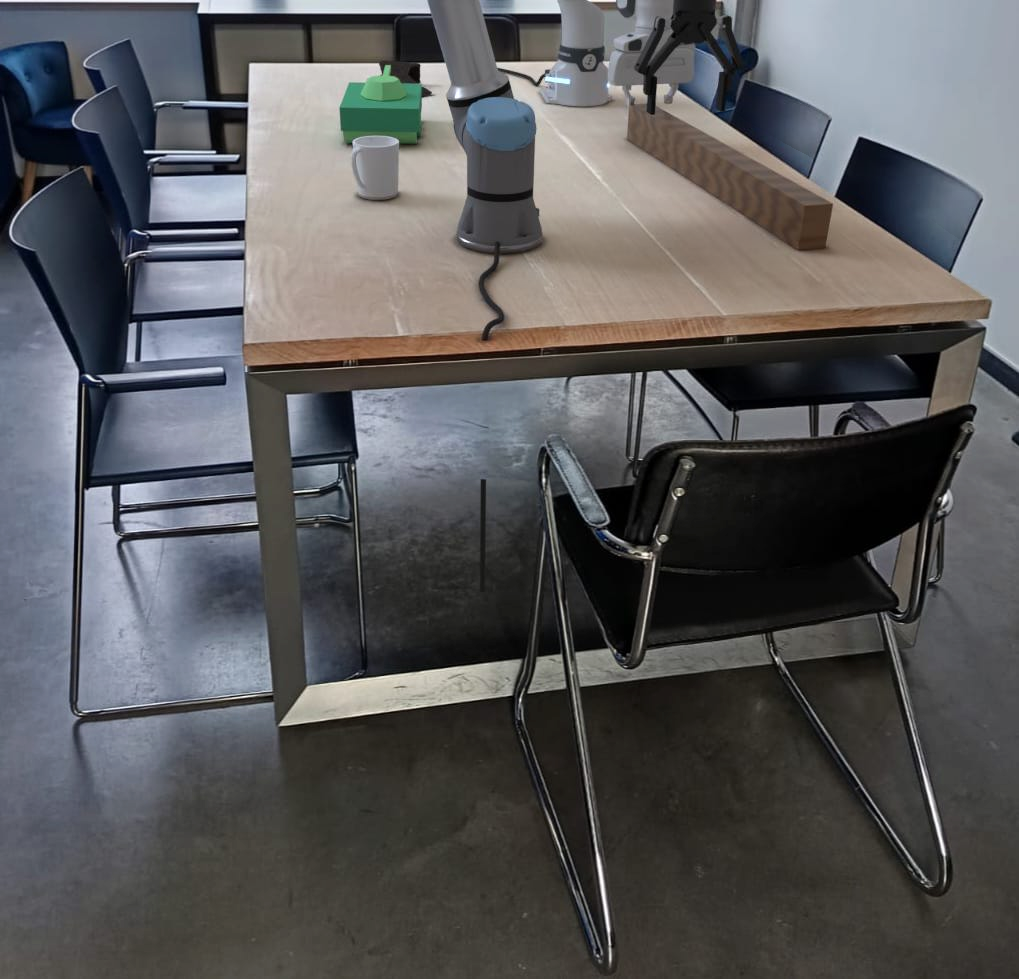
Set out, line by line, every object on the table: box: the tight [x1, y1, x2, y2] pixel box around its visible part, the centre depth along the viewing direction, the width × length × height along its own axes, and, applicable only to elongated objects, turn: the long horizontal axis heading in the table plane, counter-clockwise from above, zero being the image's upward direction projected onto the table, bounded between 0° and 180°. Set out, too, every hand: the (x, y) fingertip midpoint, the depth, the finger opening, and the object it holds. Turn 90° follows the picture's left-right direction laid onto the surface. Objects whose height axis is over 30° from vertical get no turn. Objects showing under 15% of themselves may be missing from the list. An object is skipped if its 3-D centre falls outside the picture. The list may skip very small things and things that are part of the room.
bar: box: [626, 103, 834, 251], centre depth 226 cm, size 81×6×8 cm, turn 17°
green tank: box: [339, 65, 423, 145], centre depth 261 cm, size 18×12×35 cm
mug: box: [350, 136, 400, 201], centre depth 214 cm, size 11×9×10 cm
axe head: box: [378, 59, 433, 97], centre depth 299 cm, size 18×8×15 cm
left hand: (685, 111), depth 203 cm, fingers open, 13 cm apart
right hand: (649, 104), depth 252 cm, fingers open, 8 cm apart
